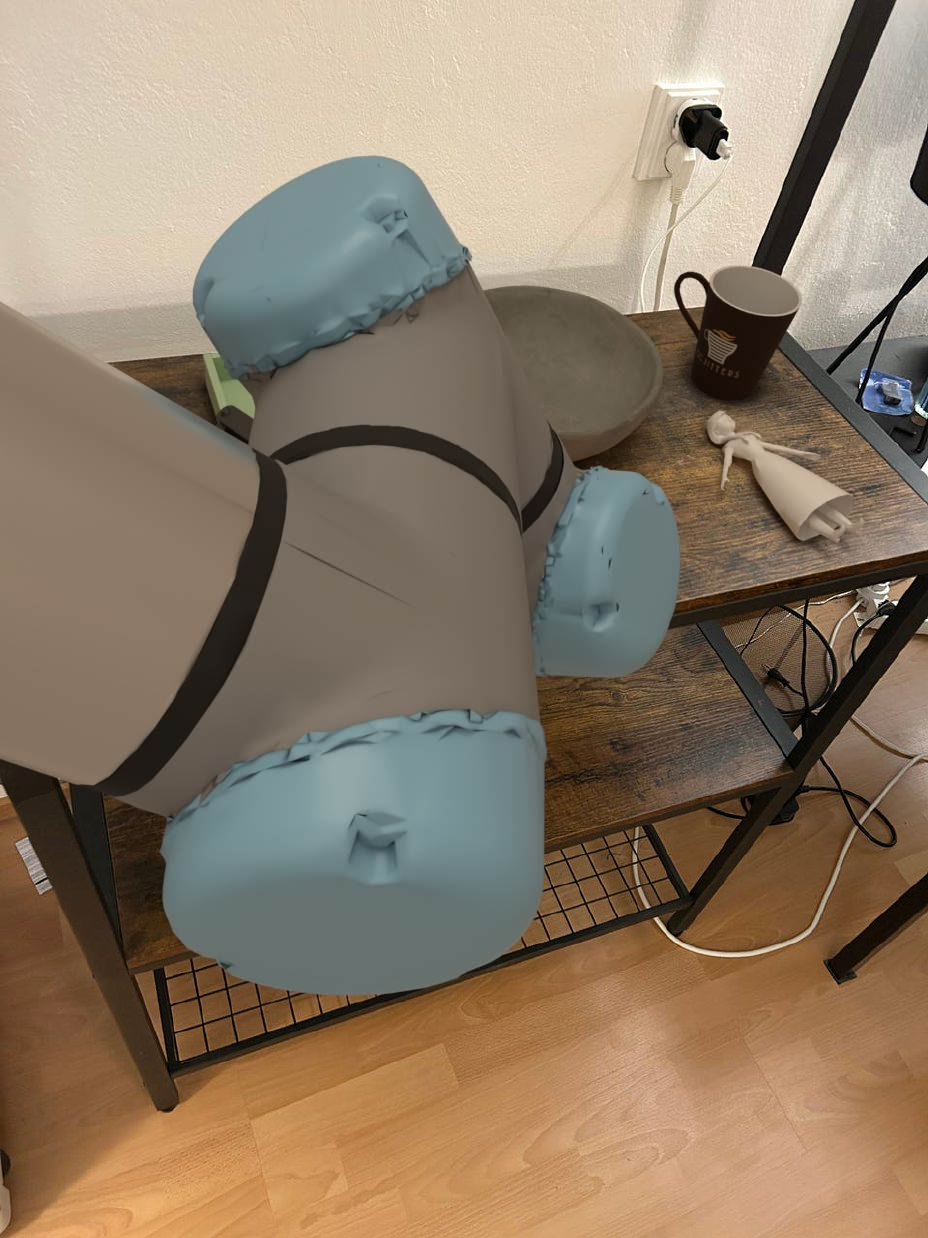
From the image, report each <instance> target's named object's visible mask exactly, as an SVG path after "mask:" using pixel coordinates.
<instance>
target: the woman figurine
mask: <svg viewBox="0 0 928 1238" xmlns="http://www.w3.org/2000/svg"><path fill="white" fill-rule="evenodd" d="M735 430H736V421H735V420H733V419H732V417H731V416H730V415H729V413H727V412H726V411H725V410H718V411H716V412H714V413H713V414H712V415H711V416H710V417H709V418H708V419H707V422H706V432H707V434H708V437H709V439H710V440H711V442H712V443H714V444H715V445H723V444H724V446H722V448H721V451H722V453H723V454H724V460H723V465H722V475H721V483H720V489H721V490H722V491H725V489H724V486H725V484H726V482H728V483H729V482H730V479H729V477H728V472H729V469H730V468H731V465H732V462H733V457H735V458H738V459H744V460H746V461H749V462H750V463H751V465H752V467H751V468H752V474H753V475H754V478H755V480H756V482H757V484H759V486H760V487H761V489H762V491H763V492H764V494H765V495H766V497H767V498H768V500H769V501H770V504H772V506H773V508H774V510H775V511H776V512H777V513H778V515H779V516H780V517H781V519H782V520H783V521H784V522H785V524H786V526H787V527H788V528H789V529H790V530H791V532H792V533H793V534H794V536H795V537H796V538H797V539H799V540H800V541H802V542H805V541H807V540H810V539H812V538H815V537H818V536H819V535H822V536H823V537H825V538H827V539H828V540H830V541H831V542H834V543H835V544H838V543H839V542H840V541H841V538H840V537H842V536H843V535H844V534H845V532H846V531H847V532H848V533H850V534H852V535H854V536H856V537H858V536H859V535H860V533H861V531H860V530H861V529H862V528H863V527H864V525H865V522H866V521H865V520H864V518H863V517H860V518H859V520H858V521H856V522H852V521H851V520H850V519H848V516H849V515H850V514H851V513H852V511H853V510H854V508H855V496H854V495H852V494H851V493H849V492H847V491H845V490H844V489H842V488H841V487H839V486H837V485H835V484H834V483H832V482H830V481H829V480H827V479H825V478H823V477H821V476H820V475H818V474H816V473H814V472H813V471H810V470H808V469H806V468H805V467H803V466H801V465H799V464H798V463H796V462H793V461H792V460H790V459H788V458H785V457H784V456H782V455H779V454H787V455H793V456H797V457H802V458H803V459H806V460H811V461H814V462H817V461H818V460H819V459H821V457H822V455H821V454H818V453H815V452H812V451H801V450H799V449H794V448H791V447H790V448H789V447H786V446H784V445H779V444H773V443H769V442H766V441H762V440H759V439H763V437H762V435H760V433H759V432H754V431H751V430H750V431H740V432H735ZM758 438H759V439H758ZM773 452H774V453H773ZM776 453H779V454H776ZM837 527H839V528H837ZM836 528H837V529H836ZM847 537H849V536H847Z"/></svg>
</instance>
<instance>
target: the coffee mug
mask: <svg viewBox="0 0 928 1238" xmlns="http://www.w3.org/2000/svg"><path fill="white" fill-rule="evenodd" d="M686 279H694V280H696V281H697V282H699V284H700V285H701V286H702V288H703V289H704V293H705V297H706V298H705V302H704V307H703V312H702V317H701V322H700V326H699V327H698V325H697V323H695V320H693V318H692V316H691V314H690V313H689V311H688V309H687V308H686V306H685V304H684V301H683V298H682V295H681V294H682V293H681V285H682V283H683V281H684V280H686ZM673 285H674V286H673V294H674V298H675V302H676V305H677V307H678V309H679V311H680V314H681V315H682V317H683V319H684V320H685V322H686V323H687V325H688V327H689V328H690V330H691V331H692V333H693V335H694V336H695V337H696V340H697V341H696V345H695V346H696V347H695V351H694V356H693V362H692V366H691V371H690V379H691V382H692V383H693V384H694V385H695V387H697V389H698V390H700V391H701V392H703V393H705V394H706V395H708V396H710V397H714V398H716V399H720V400H725V401H740V400H744V399H746V398H747V397H749V396H751V395H752V394H753V392H754V389H755V388H756V386H757V385H758V383H759V381H760V379H761V378H762V376H763V374H764V372H765V370H766V369H767V367H768V365H769V363H770V361H771V360H772V358H773V356H774V354H775V352H776V351H777V349H778V347H779V346H780V344H781V342H782V340H783V338H784V337H785V335H786V333H787V331H788V330H789V328H790V326H791V324H792V322H793V320H794V319H795V318H796V315H797V313H798V312H799V310H800V308H801V306H802V304H803V297H802V294H801V292H800V291H799V289H798V288H797V287H796V286H795V285H794V284H793V283H792V282H790V281H789V280H788V279H787V278H785V277H783V276H782V275H780V274H777V273H775V272H773V271H770V270H767V269H764V268H761V267H756V266H750V265H740V264H739V265H736V264H735V265H728V266H723V267H720V268H718V269H716V270H715V271H714V272H713V273H712V274H711V276H710V277H709V280H708V279H707V278H706V277H705V276H704V275H703V274H702V273H699V272H696V271H691V270H690V271H686V272H683V273H681V274H680V275H679V276H677V279H676V280H675V282H674V284H673Z"/></svg>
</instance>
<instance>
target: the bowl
mask: <svg viewBox="0 0 928 1238" xmlns="http://www.w3.org/2000/svg"><path fill="white" fill-rule="evenodd" d="M483 291H484V293H485V295H486V297H487V299H488V301H489V303H490V305H491V307H492V309H493V311H494V314H495V316H496V318H497V320H498V322H499V324H500V326H501V328H502V330H503V332H504V334H505V336H506V338H507V340H508V342H509V344H510V346H511V348H512V350H513V352H514V354H515V356H516V358H517V360H518V362H519V364H520V366H521V368H522V370H523V372H524V374H525V376H526V378H527V380H528V382H529V384H530V387H531V389H532V391H533V393H534V395H535V397H536V399H537V401H538V403H539V405H540V407H541V409H542V411H543V413H544V415H545V417H546V419H547V420H548V422H549V423H550V425H551V427H552V429H553V430H554V431H555V432H556V433H557V435H558V436H559V437H560V439H561V441H562V443H563V445H564V447H565V449H566V451H567V453H568V455H569V458H570V459H571V461H572V463H573V462H577V461H581V460H584V459H586V458H590V457H594V456H596V455H598V454H602V453H604V452H605V451H608V450H610V449H611V448H612V447H614V446H616V445H618V444H619V443H620V442H621V441H623V440H624V439H626V438H627V437H628V436H629V435H630V434H632V433H633V432H635V430H636V429H637V428H638V427H639V426H640V425H641V424H642V423H643V422H644V421H645V419H647V417H648V416H649V414H650V412H651V411H652V410H653V408H654V407H655V405H656V403H657V401H658V399H659V396H660V393H661V390H662V387H663V382H664V364H663V360H662V356H661V354H660V351H659V350H658V348H657V346H656V344H655V342H654V341H653V339H652V338H651V337H650V336H649V334H648V333H646V331H645V330H643V329H642V328H641V327H640V326H639V325H638V324H637V323H635V322H634V321H633V320H632V319H630V318H629V317H628V316H626V315H625V314H623V313H622V312H620V311H618V310H617V309H615V308H614V307H612V306H610V305H608V304H607V303H605V302H603V301H601V300H599V299H596V298H594V297H591V296H589V295H585V294H582V293H578V292H574V291H570V290H564V289H560V288H554V287H548V286H540V285H539V286H537V285H509V286H508V285H506V286H501V287H495V288H488V289H483Z"/></svg>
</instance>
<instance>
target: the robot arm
mask: <svg viewBox="0 0 928 1238" xmlns="http://www.w3.org/2000/svg"><path fill="white" fill-rule="evenodd" d="M472 258H473V255H472V254H471V252H470V250H469V248H468V246H465V245H464V244H462V243H461V242H460V240H458V237H457V236H456V234H455V232H454V231H453V230H452V228H451V226H450V224H449V223H448V221H447V220H446V218H445V216H444V215H443V213H442V211H441V209H440V208H439V207H438V205H437V203H436V201H435V200H434V198H433V196H432V195H431V193H430V191H429V190H428V188H427V186H426V185H425V182H424V181H423V179H422V178H421V177H420V176H419V174H418V173H417V172H415V171H414V170H413V169H412V168H410V166H408V165H406V164H405V163H404V162H402V161H400V160H396V159H394V158H391V157H387V156H383V155H360V156H359V155H357V156H351V157H346V158H345V157H344V158H341V159H337V160H334V161H330V162H328V163H325V164H322V165H320V166H317V167H315V168H313V169H311V170H308V171H306V172H304V173H302V174H300V175H298V176H296V177H293V179H291V180H289V181H287V182H285V183H284V184H281V185H280V186H278V187H277V188H275V189H274V190H273V191H271V192H269V193H268V194H266V195H265V196H263V198H261V199H260V200H259V201H257V202H256V203H255V204H253V205H252V206H251V207H250V208H248V209H247V210H246V211H244V213H242V214H241V215H240V216H239V217H238V218H237V219H236V220H234V221H233V222H232V224H230V225H229V226H228V227H227V229H225V231H223V233H222V234H221V235H220V236H219V237H218V239H216V241H215V242H214V243H213V245H212V246H211V248H210V249H209V250H208V252H207V254H206V255H205V256H204V258H203V260H202V262H201V263H200V266H199V267H198V270H197V273H196V276H195V277H194V282H193V287H192V305H193V308H194V310H195V315H196V319H197V321H198V322H199V324H200V327H201V328H202V330H203V331H204V333H205V334H206V336H207V338H208V339H209V341H210V342H211V344H212V346H213V347H214V348H215V350H216V353H219V355H220V356H221V358H222V359H223V361H224V368H225V369H227V370H228V374H229V375H230V376H231V378H232V379H234V378H235V379H237V380H239V382H240V383H241V384H242V385H243V386H244V387H245V389H246V390H247V391H248V392H249V393H250V394H251V396H252V398H253V401H254V405H255V414H254V419H253V418H252V417H250V416H249V415H247V414H246V413H244V412H243V411H241V410H240V409H238V408H237V407H235V406H233V405H229V406H226V407H223V408H222V409H221V410H220V411H219V412H218V413H217V415H215V419H216V418H217V419H218V421H219V423H218V422H217V423H216V424H215V425H214V424H213V423H211V422H209V421H207V420H206V419H204V418H202V417H201V416H199V415H197V414H196V413H193V411H191V410H188V409H187V408H185V407H184V406H181V405H180V404H178V403H176V402H175V401H173V400H171V399H170V398H168V397H166V396H165V395H163V394H161V393H160V392H157V391H156V390H154V389H152V388H151V387H149V386H147V385H146V384H144V383H142V382H140V381H138V380H137V379H135V378H133V377H131V376H130V375H128V374H126V373H125V372H124V371H121V370H120V369H119V368H116V367H115V366H113V365H111V364H109V363H107V362H106V361H104V360H103V359H101V358H99V357H97V356H95V355H94V354H92V353H90V352H89V351H87V350H85V349H83V348H81V347H80V346H78V345H77V344H75V343H73V342H71V341H70V340H68V339H66V338H64V337H63V336H61V335H59V334H57V333H56V332H54V331H52V330H51V329H48V328H47V327H45V326H44V325H42V324H40V323H38V322H37V321H35V320H34V319H32V318H30V317H28V316H26V315H25V314H23V313H21V312H19V311H18V310H16V309H14V308H13V307H11V306H9V305H7V304H6V303H4V302H2V301H0V760H3V761H5V762H8V763H11V764H14V765H17V766H20V767H23V768H26V769H29V770H32V771H35V772H38V773H40V774H44V775H47V776H49V777H53V778H56V779H59V780H61V781H65V782H67V783H71V784H73V785H77V786H79V787H82V788H86V789H89V790H91V791H95V792H97V793H101V794H104V795H107V796H109V797H111V798H113V799H116V800H118V801H121V802H123V803H125V804H127V805H130V806H131V807H134V808H137V809H139V810H143V811H146V812H150V813H154V814H156V815H159V816H162V817H164V818H166V824H165V828H164V833H163V836H162V843H161V846H160V849H159V853H160V855H161V857H162V858H163V859H164V862H165V870H164V876H163V883H162V905H163V910H164V913H165V915H166V917H167V920H168V922H169V925H170V927H171V928H170V929H171V930H172V933H173V934H174V935H175V937H176V938H178V940H179V941H180V942H181V943H182V944H183V945H184V946H185V948H186V949H188V950H190V951H192V952H193V953H196V954H198V955H199V956H201V957H204V958H206V959H213V960H216V962H217V964H218V966H219V967H220V968H222V969H223V970H225V972H227V973H228V974H229V975H230V976H232V977H234V978H238V979H241V980H244V981H247V982H250V983H254V984H256V985H261V986H264V987H269V988H273V989H277V990H282V991H289V992H295V993H301V994H312V995H322V996H323V995H325V996H374V995H388V994H394V993H400V992H407V991H413V990H421V989H426V988H429V987H432V986H436V985H440V984H443V983H446V982H449V981H453V980H456V979H459V978H460V976H463V975H465V974H466V973H468V972H470V971H473V970H475V969H478V968H480V967H483V966H485V965H487V964H490V963H492V962H494V961H496V959H498V958H501V956H503V955H504V954H506V953H507V952H508V951H509V950H510V949H511V948H513V946H515V945H516V944H517V943H518V942H519V941H520V940H521V939H522V937H523V936H524V934H525V933H526V932H527V930H528V929H529V928H530V926H531V924H532V923H533V921H534V919H535V918H536V915H537V912H538V910H539V907H540V904H541V901H542V898H543V893H544V884H545V763H546V761H547V755H548V748H547V742H546V741H547V740H546V734H545V729H544V727H543V725H542V724H541V716H540V706H539V695H538V687H537V685H538V684H537V677H541V678H549V677H551V676H553V677H554V676H555V677H558V676H559V677H579V678H580V677H582V678H583V677H584V678H603V679H605V678H607V679H615V678H616V679H617V678H622V677H626V676H628V675H631V674H633V673H635V672H637V671H639V670H640V669H641V668H643V667H644V666H645V665H646V664H647V663H648V662H649V661H650V660H651V659H652V658H653V657H654V656H655V654H656V653H657V651H658V650H659V648H660V647H661V645H662V643H663V642H664V639H665V637H666V635H667V632H668V629H669V627H670V624H671V620H672V618H673V614H674V613H675V609H676V606H677V600H678V596H679V595H678V594H679V587H680V578H681V542H680V536H679V535H680V534H679V529H678V524H677V523H678V522H677V520H676V515H675V513H674V510H673V507H672V505H671V502H670V500H669V498H668V497H667V495H666V493H665V491H664V490H663V489H662V488H661V487H660V486H659V485H657V484H655V483H653V482H652V481H650V480H649V479H648V478H646V477H645V475H644V476H643V474H641V473H639V472H636V471H630V470H629V471H627V470H615V469H614V470H613V469H609V468H608V467H603V465H602V464H601V465H597V466H593V465H592V466H590V468H588V469H587V468H586V469H580V468H578V467H577V466H575V465H574V463H573V462H572V461H571V459H570V458H569V455H568V453H567V451H566V449H565V447H564V445H563V443H562V441H561V439H560V437H559V436H558V435H557V433H556V432H555V431H554V430H553V429H552V427H551V425H550V423H549V422H548V420H547V419H546V417H545V415H544V413H543V411H542V409H541V407H540V405H539V403H538V401H537V399H536V397H535V395H534V393H533V391H532V389H531V387H530V384H529V382H528V380H527V378H526V376H525V374H524V372H523V370H522V368H521V366H520V364H519V362H518V360H517V358H516V356H515V354H514V352H513V350H512V348H511V346H510V344H509V342H508V340H507V338H506V336H505V334H504V332H503V330H502V328H501V326H500V324H499V322H498V320H497V318H496V316H495V314H494V311H493V309H492V307H491V305H490V303H489V301H488V299H487V297H486V295H485V293H484V291H483V290H484V289H483V287H482V285H481V283H480V281H479V279H478V277H477V274H476V273H475V271H474V269H473V267H472V265H471V263H470V262H472V260H473V259H472ZM217 419H216V420H217Z"/></svg>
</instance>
